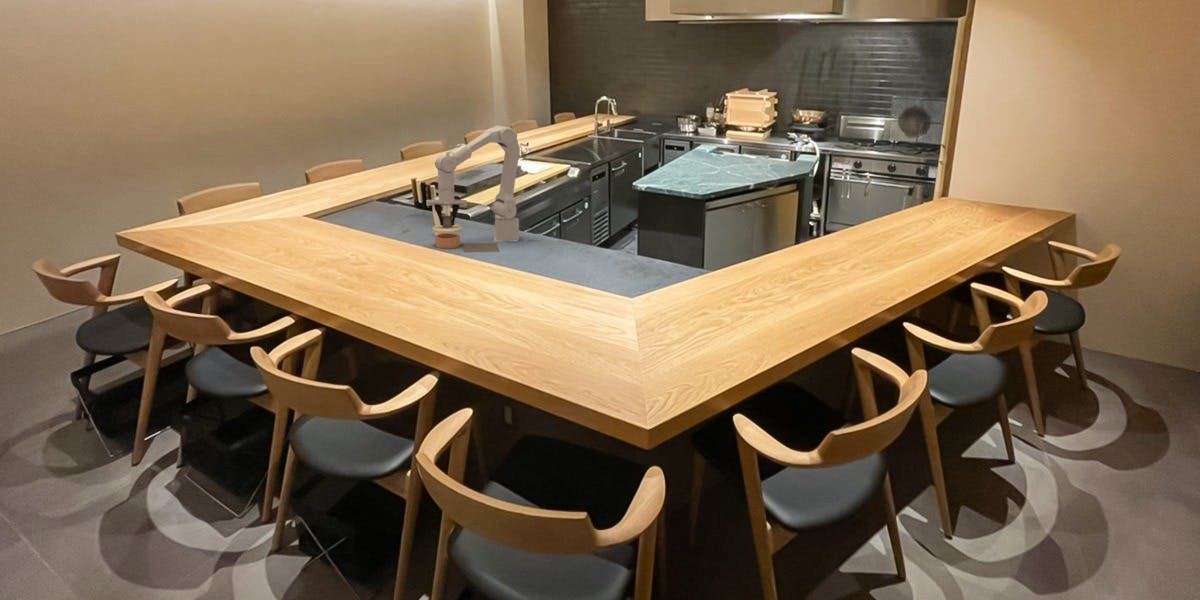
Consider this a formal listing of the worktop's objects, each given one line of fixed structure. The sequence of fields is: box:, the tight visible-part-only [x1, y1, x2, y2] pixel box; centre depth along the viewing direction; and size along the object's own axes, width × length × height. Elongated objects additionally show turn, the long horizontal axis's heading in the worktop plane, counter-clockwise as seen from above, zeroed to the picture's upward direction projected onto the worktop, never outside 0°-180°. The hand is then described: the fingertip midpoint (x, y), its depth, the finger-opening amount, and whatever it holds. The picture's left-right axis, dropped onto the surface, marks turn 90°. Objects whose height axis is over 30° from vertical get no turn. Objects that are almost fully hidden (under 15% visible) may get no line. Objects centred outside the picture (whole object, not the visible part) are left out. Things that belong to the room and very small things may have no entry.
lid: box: [432, 215, 463, 233], centre depth 250 cm, size 11×11×5 cm
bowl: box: [435, 232, 461, 249], centre depth 252 cm, size 9×9×4 cm
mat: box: [462, 242, 500, 253], centre depth 252 cm, size 13×13×1 cm
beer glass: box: [431, 196, 451, 237], centre depth 267 cm, size 7×7×15 cm
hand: (447, 224), depth 250 cm, fingers closed on lid, 4 cm apart
